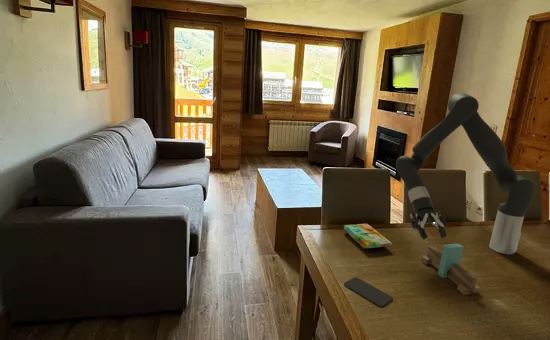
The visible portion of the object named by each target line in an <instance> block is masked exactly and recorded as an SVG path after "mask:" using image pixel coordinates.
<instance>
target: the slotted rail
mask: <svg viewBox="0 0 550 340" xmlns="http://www.w3.org/2000/svg"><path fill="white" fill-rule="evenodd" d="M426 252H427V253H426V255H421V259H420V261H421V262H422V263H424V265H426V266H427V265H431V266H433V267H434V268H435V269H436V270H437V271H439V266H440V261H441V256H442V252H441V251H439V250H438V249H437V248H435V247H433V245H432V246H431V245H430V246H429V245H428V247H427V251H426ZM446 278H449V280H451V282H453V283H454V284H455V285H457V288H456V290H458V292H460V293H461V294H463V295H464V296H465V295H471V294H472V295H474V294H479V293H480V290H481V288H480V286H479V285H477V280H478V278H477V277H476V276H475V275H473V274H472V273H471V272H469V271H468V270H467V269H465V268H464V267H462V266H461V265H458V264H453V266H452V269H450V270H448V271H447V276H446Z"/></svg>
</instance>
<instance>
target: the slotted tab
mask: <svg viewBox="0 0 550 340" xmlns="http://www.w3.org/2000/svg"><path fill="white" fill-rule="evenodd" d="M441 251H442V252H441V253H442V256H441V261H440V266H439V270H437V275H438V276H440V277H441V278H442V279H445V278H447V271H448V270H450V269H452V266H453V264H458V265H459V266H461V261H462V256H463V251H464V246H463V245H462V244H460V243H451V244H450V243H449V244H443V245H442V250H441Z"/></svg>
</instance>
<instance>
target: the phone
mask: <svg viewBox="0 0 550 340" xmlns="http://www.w3.org/2000/svg"><path fill="white" fill-rule="evenodd" d="M343 286H344V287H345V288H347V289H349V290H351V291H352V292H354V293H356V294H357V295H359V296H361V297H362V298H364V300H366V301H368V302H369V303H372V304H374V306H375V305H376V306H377V307H379V308H384V307H385V306H387V305H388V304H390V303H391V302H392V301H393V299H394V297H393V296H391V295H390V294H388V293H386V292H385V291H383V290H380V289H379V288H377V287H375V286H374V285H372V284H370V283H368V282H366V281H365V280H362V278H359V277H356V276H355V277H352V278H349V280H347V281H345V282H344V283H343Z"/></svg>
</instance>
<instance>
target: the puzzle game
mask: <svg viewBox="0 0 550 340" xmlns="http://www.w3.org/2000/svg"><path fill="white" fill-rule="evenodd" d="M343 229H344V231H345V232H347V233H348V234H349V235H348V234H347V233H346V234H347V235H348V236H349V237H351V238H352V239H353V240H354V241H355V243H357V244H358V245H359V244H360V245H359V246H361V248H363V249H374V248H382V247H383V248H384V247H391V246H393V243H392V242H391V240H389V239H387V238H386V237H385V236H384V235H383V234H381V233H380V232H379V231H377V229H375V228H374V227H372V226H371V225H369V224H368V223H359V224H358V223H357V224H345V225H343Z"/></svg>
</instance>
